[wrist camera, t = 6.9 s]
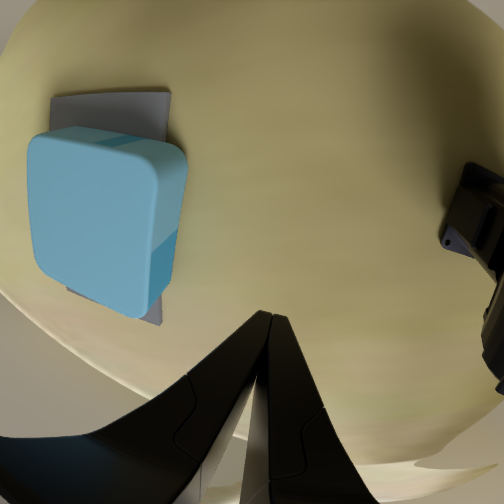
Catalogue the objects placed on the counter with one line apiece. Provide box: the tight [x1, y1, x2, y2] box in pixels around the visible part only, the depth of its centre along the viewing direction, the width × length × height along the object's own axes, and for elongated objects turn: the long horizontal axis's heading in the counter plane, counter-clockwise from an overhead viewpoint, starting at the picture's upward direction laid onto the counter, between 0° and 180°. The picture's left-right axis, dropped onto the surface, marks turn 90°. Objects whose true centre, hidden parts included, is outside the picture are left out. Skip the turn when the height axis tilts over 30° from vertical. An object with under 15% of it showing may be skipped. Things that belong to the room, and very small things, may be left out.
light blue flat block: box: [27, 126, 188, 318], centre depth 19 cm, size 12×4×12 cm
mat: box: [50, 92, 171, 326], centre depth 22 cm, size 12×20×1 cm, turn 171°
